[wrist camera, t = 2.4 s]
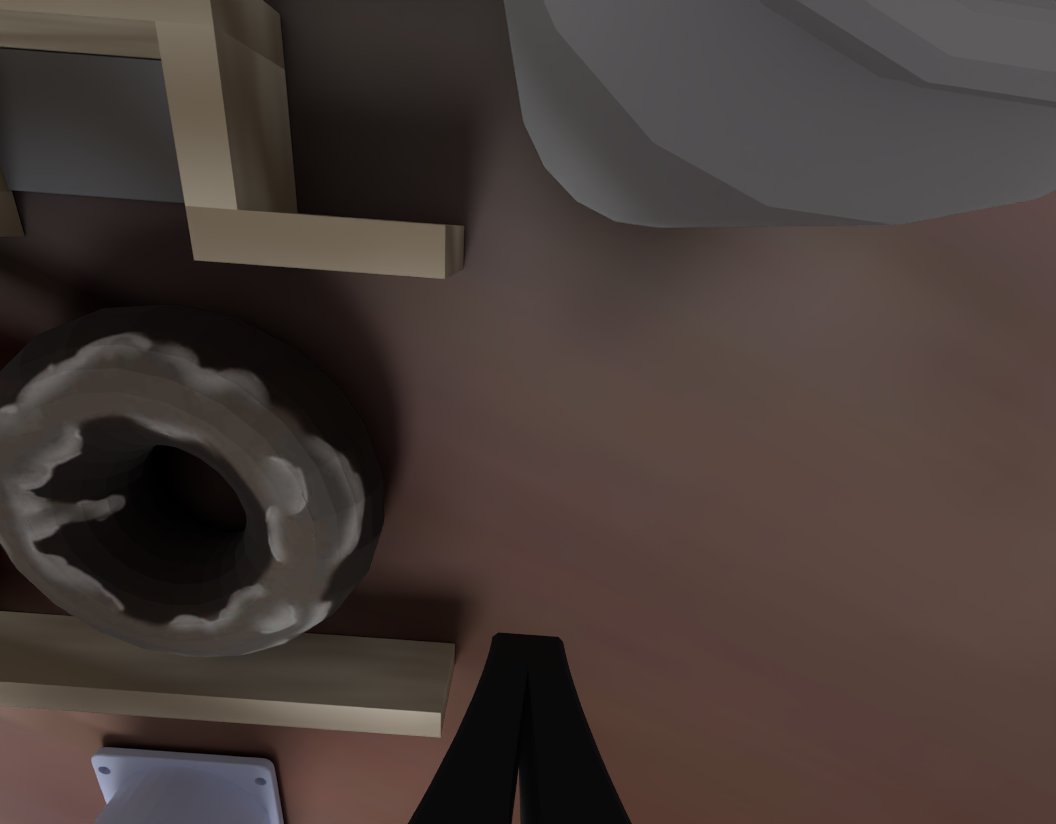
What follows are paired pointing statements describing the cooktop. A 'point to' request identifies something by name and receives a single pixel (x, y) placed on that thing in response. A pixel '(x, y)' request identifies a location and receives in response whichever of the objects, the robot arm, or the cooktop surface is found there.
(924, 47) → the can
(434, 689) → the beige square zigzag bar
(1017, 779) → the cooktop surface
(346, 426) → the donut
